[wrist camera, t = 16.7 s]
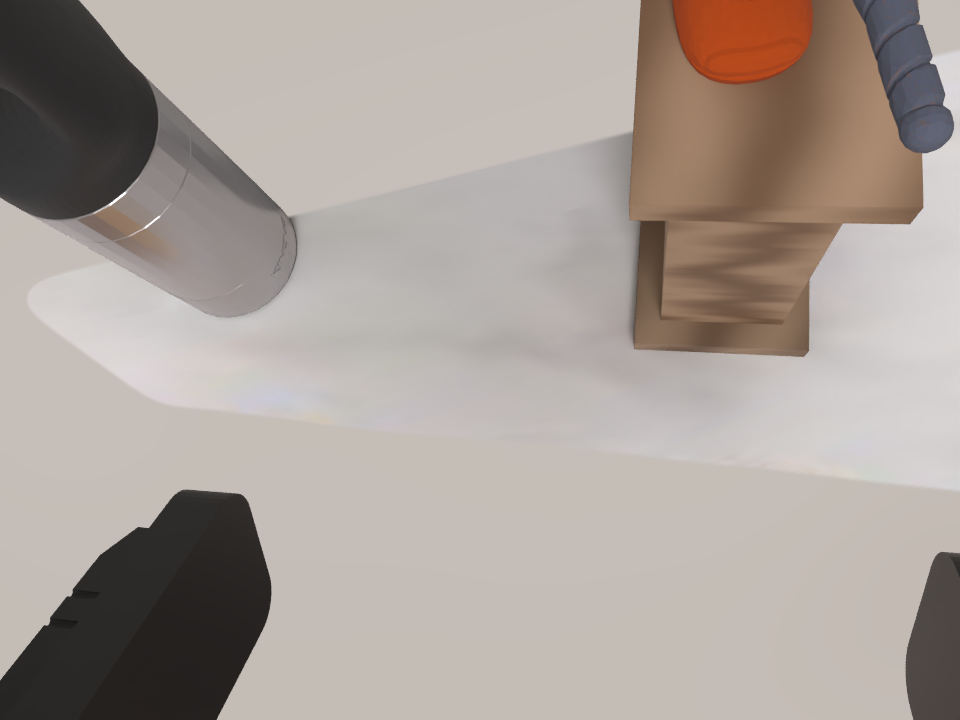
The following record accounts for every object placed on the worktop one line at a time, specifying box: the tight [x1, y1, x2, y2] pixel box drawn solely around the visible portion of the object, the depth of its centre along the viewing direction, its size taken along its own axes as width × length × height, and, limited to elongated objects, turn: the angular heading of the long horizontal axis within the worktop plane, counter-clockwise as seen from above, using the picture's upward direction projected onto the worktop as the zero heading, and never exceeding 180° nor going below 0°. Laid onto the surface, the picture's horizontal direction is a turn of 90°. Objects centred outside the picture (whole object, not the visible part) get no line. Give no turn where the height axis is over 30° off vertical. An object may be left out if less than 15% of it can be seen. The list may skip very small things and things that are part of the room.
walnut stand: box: [629, 0, 923, 357], centre depth 41 cm, size 10×11×22 cm
